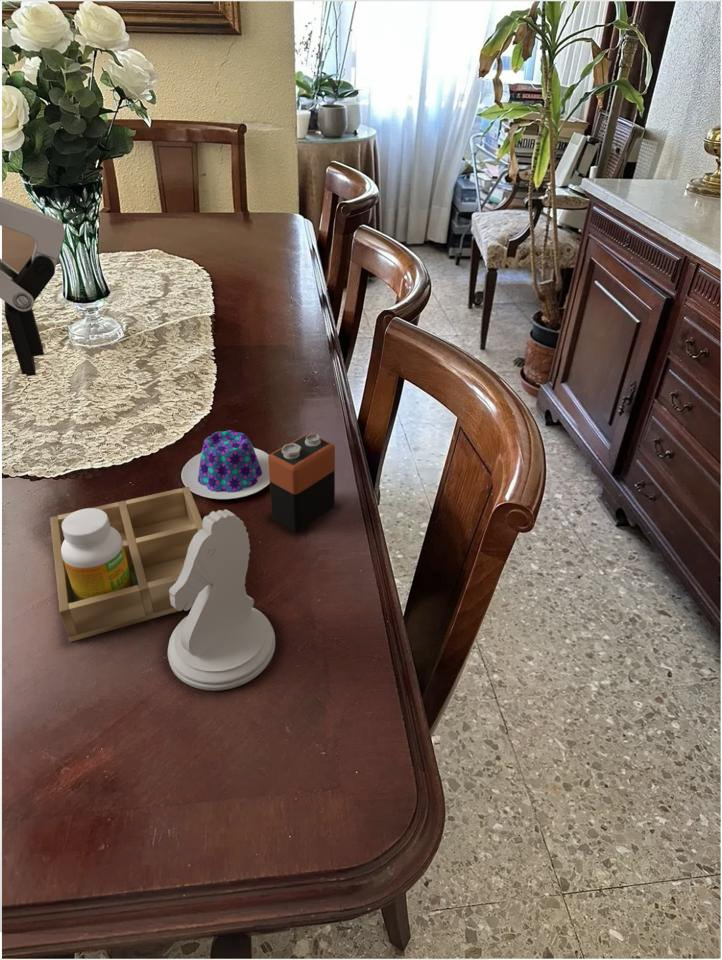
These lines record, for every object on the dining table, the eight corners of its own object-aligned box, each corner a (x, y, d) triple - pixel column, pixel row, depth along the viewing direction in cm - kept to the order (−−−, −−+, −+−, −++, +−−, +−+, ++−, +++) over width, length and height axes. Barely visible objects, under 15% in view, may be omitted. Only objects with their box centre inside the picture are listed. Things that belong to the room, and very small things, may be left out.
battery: (270, 519, 77) (265, 447, 72) (310, 493, 82) (308, 423, 76) (297, 535, 75) (294, 462, 69) (336, 508, 80) (336, 437, 74)
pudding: (171, 463, 87) (165, 428, 84) (258, 442, 91) (255, 409, 88) (197, 514, 78) (191, 478, 75) (291, 488, 83) (290, 453, 80)
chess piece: (146, 651, 61) (115, 526, 52) (227, 593, 67) (211, 473, 59) (216, 710, 56) (195, 583, 48) (297, 642, 62) (291, 518, 54)
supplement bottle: (125, 618, 63) (104, 541, 58) (68, 616, 63) (43, 539, 58) (141, 578, 68) (123, 503, 62) (88, 577, 68) (66, 502, 62)
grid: (70, 642, 62) (59, 611, 60) (58, 546, 73) (49, 517, 70) (225, 597, 67) (221, 568, 65) (193, 514, 78) (188, 486, 76)
